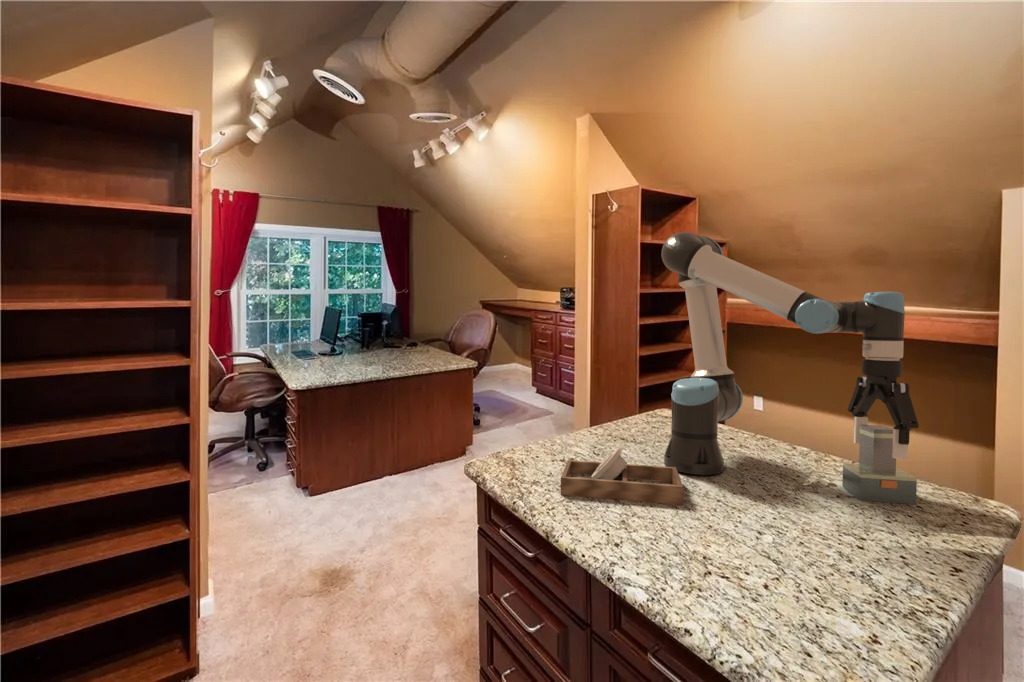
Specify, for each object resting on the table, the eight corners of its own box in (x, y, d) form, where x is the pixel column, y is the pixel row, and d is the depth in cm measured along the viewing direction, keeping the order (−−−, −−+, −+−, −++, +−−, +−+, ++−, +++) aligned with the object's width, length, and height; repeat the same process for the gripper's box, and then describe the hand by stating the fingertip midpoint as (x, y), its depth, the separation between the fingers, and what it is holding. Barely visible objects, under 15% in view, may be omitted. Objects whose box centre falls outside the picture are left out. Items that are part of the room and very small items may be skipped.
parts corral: (560, 494, 113) (560, 477, 112) (567, 475, 127) (567, 460, 127) (683, 504, 107) (683, 487, 106) (675, 483, 121) (675, 467, 121)
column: (858, 466, 116) (860, 424, 116) (880, 466, 116) (882, 425, 116) (872, 472, 111) (874, 429, 111) (895, 473, 111) (897, 429, 111)
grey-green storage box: (860, 500, 110) (861, 474, 110) (842, 487, 119) (843, 463, 119) (917, 505, 107) (918, 478, 107) (893, 490, 117) (894, 466, 116)
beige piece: (587, 477, 123) (612, 449, 126) (600, 490, 122) (625, 461, 125) (594, 474, 114) (621, 444, 116) (608, 488, 113) (635, 457, 115)
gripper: (833, 355, 125) (830, 437, 126) (904, 363, 100) (901, 465, 101) (863, 355, 124) (861, 438, 125) (943, 363, 100) (939, 466, 100)
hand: (878, 450), depth 113 cm, fingers open, 13 cm apart
